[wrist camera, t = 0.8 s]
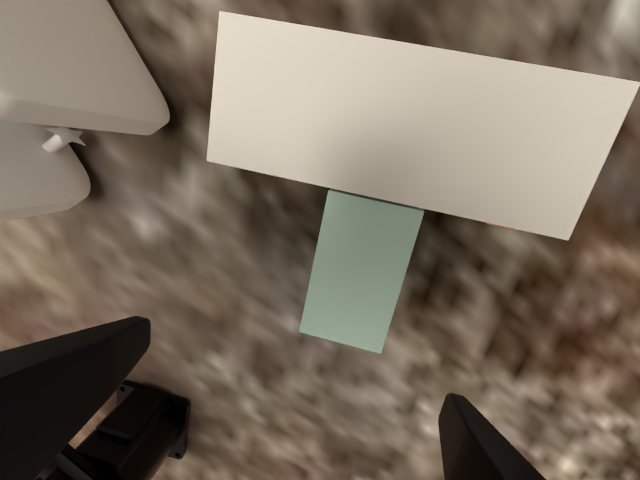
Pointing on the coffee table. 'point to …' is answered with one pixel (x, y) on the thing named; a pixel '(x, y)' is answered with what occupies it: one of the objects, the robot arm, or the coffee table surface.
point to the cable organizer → (64, 98)
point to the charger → (359, 268)
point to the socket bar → (413, 122)
